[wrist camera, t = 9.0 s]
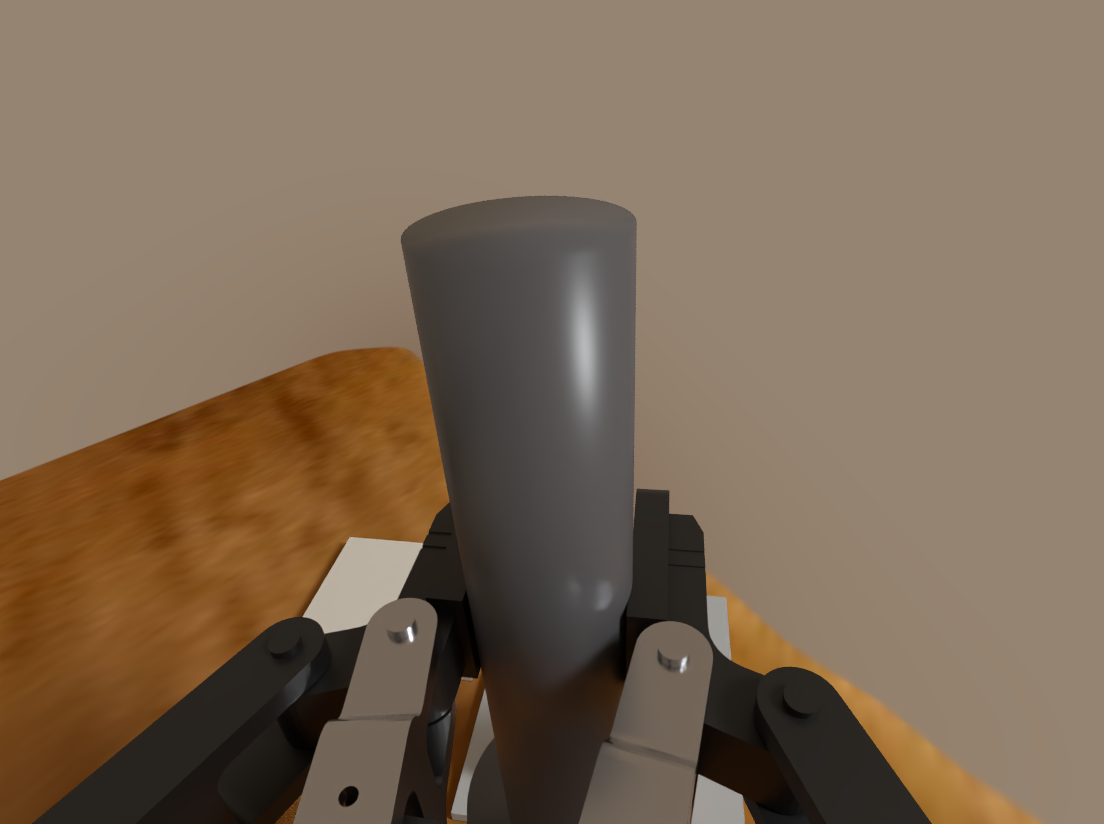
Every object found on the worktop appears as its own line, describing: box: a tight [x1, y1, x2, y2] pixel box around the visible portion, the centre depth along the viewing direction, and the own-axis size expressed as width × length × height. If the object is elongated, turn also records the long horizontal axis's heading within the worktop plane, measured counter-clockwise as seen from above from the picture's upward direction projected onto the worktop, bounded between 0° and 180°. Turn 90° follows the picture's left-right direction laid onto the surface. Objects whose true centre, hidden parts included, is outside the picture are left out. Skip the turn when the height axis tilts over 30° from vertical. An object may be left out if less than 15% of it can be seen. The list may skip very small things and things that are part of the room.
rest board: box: [303, 537, 472, 681], centre depth 40 cm, size 11×9×1 cm
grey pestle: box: [401, 196, 637, 824], centre depth 13 cm, size 5×5×18 cm
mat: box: [451, 596, 745, 824], centre depth 34 cm, size 13×14×1 cm
